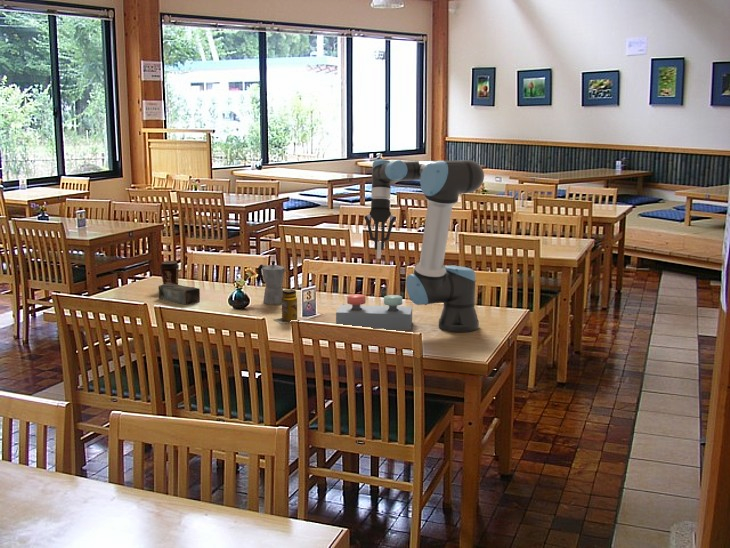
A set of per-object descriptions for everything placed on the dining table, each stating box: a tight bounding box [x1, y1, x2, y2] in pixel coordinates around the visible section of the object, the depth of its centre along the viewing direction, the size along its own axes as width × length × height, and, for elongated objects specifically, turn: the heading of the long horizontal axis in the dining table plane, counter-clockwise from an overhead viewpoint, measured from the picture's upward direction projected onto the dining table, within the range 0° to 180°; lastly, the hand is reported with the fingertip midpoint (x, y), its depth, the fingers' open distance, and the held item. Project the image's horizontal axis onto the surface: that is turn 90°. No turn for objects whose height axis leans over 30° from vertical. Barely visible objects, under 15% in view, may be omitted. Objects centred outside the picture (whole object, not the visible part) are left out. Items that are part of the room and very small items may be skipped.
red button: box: [346, 293, 367, 310], centre depth 312 cm, size 7×7×8 cm
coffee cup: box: [159, 260, 180, 285], centre depth 372 cm, size 9×8×13 cm
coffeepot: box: [257, 260, 286, 306], centre depth 349 cm, size 15×9×18 cm, turn 54°
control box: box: [335, 304, 413, 331], centre depth 313 cm, size 28×12×6 cm, turn 84°
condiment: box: [273, 288, 300, 324], centre depth 319 cm, size 7×8×12 cm
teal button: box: [383, 294, 403, 311], centre depth 311 cm, size 7×7×8 cm
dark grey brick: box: [158, 283, 201, 305], centre depth 353 cm, size 8×19×7 cm, turn 51°
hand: (378, 258), depth 325 cm, fingers closed
